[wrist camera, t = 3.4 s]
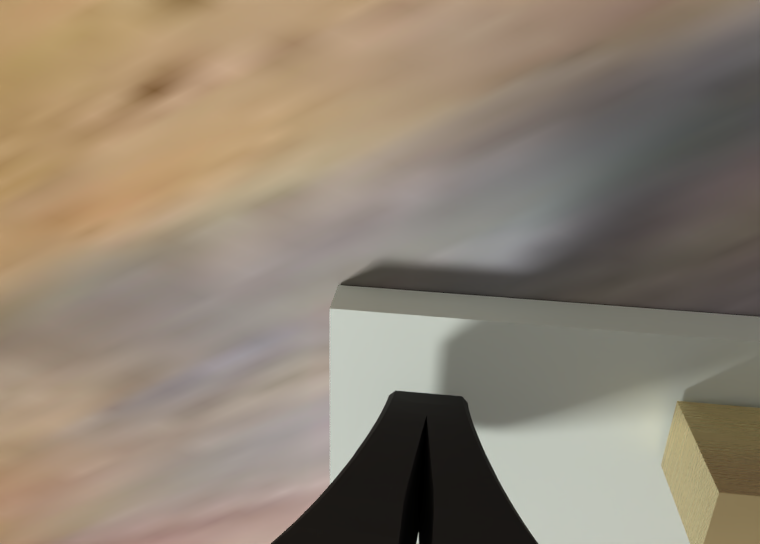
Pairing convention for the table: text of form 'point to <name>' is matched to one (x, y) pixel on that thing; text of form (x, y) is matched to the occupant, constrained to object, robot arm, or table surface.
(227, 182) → the table surface
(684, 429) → the keeper bar
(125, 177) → the table surface
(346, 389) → the board
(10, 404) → the table surface
